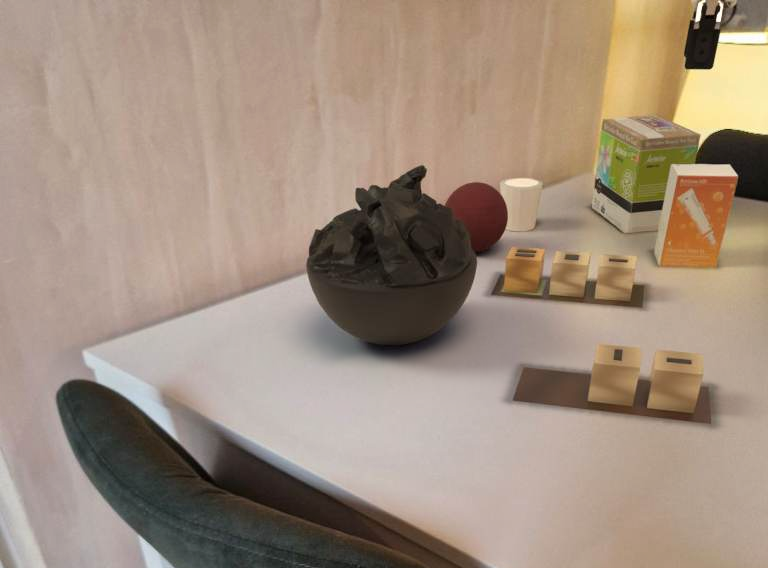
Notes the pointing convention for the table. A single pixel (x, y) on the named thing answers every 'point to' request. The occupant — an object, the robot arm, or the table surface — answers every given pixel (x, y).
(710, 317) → the table surface
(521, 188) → the shot glass
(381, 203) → the coal bowl
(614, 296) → the board
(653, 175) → the tea box
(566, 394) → the front word board
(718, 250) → the small box
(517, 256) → the orange wooden cube
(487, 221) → the decorative ball
